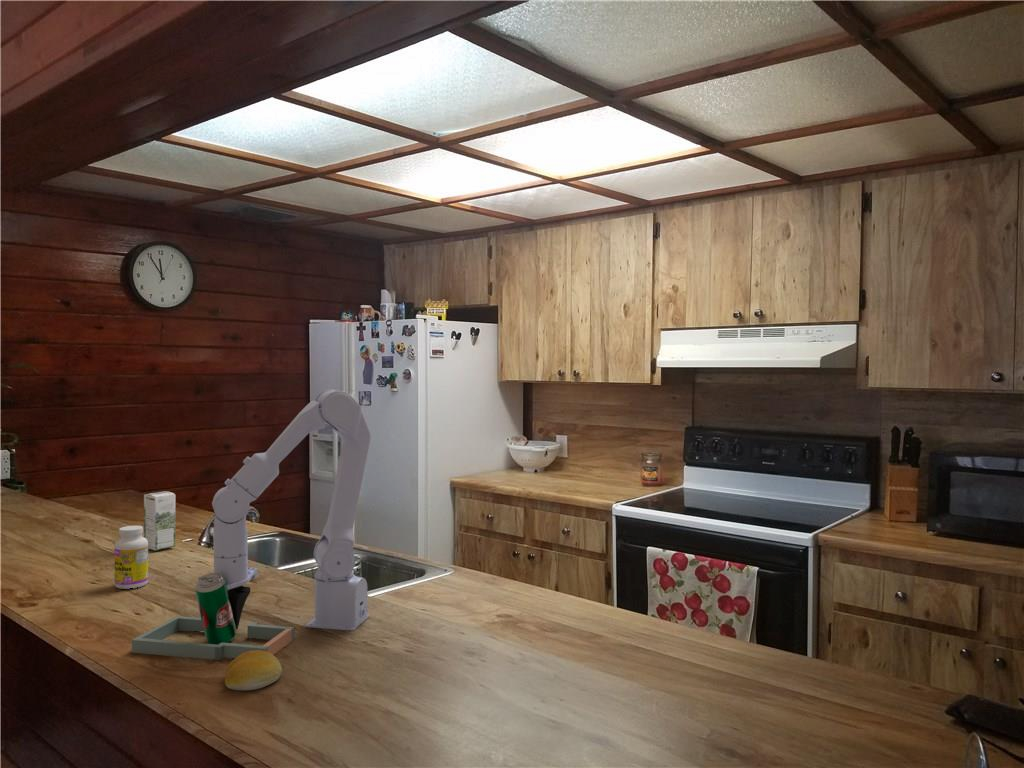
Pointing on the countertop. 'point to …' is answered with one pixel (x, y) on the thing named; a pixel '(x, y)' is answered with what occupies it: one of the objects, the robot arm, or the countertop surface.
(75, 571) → the countertop surface
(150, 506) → the syrup box
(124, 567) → the supplement bottle
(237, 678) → the bread roll
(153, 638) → the corral
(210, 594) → the soda can
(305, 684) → the countertop surface
